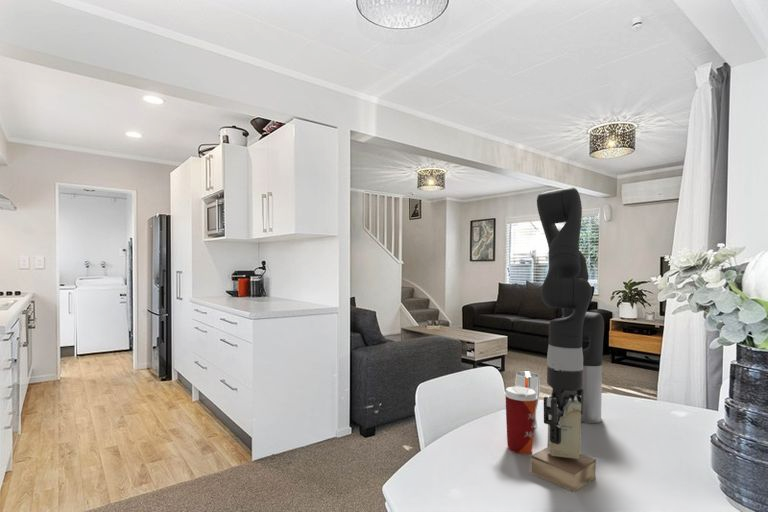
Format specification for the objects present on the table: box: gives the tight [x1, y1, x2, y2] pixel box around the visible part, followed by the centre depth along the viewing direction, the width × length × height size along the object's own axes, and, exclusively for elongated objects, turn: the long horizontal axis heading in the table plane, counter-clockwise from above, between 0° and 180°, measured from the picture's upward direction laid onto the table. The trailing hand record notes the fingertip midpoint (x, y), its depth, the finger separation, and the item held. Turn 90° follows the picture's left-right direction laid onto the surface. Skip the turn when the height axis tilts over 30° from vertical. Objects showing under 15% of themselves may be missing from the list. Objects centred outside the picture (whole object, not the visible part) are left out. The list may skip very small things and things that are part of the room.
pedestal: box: [530, 447, 597, 493], centre depth 96 cm, size 10×10×4 cm
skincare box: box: [546, 395, 582, 459], centre depth 96 cm, size 6×4×12 cm
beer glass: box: [514, 370, 541, 429], centre depth 126 cm, size 7×7×15 cm
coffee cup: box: [503, 386, 538, 455], centre depth 110 cm, size 8×8×15 cm
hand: (563, 438), depth 96 cm, fingers closed on skincare box, 7 cm apart
